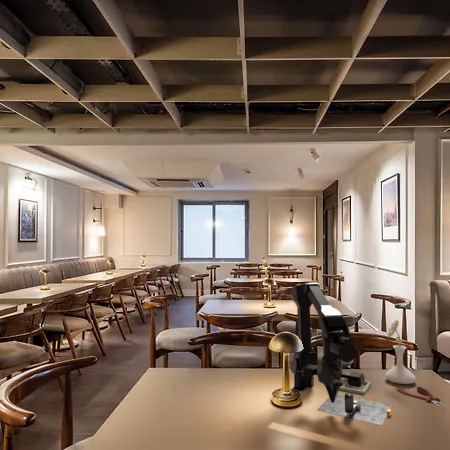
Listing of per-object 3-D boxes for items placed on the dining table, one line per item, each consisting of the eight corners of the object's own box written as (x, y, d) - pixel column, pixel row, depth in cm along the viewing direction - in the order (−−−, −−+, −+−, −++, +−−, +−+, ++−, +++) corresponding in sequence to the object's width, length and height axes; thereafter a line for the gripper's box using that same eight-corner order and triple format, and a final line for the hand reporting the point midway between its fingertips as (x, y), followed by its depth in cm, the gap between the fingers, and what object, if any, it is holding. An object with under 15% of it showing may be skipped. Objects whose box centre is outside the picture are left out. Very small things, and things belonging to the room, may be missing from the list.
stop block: (344, 390, 148) (344, 376, 149) (347, 386, 152) (347, 373, 152) (355, 392, 146) (355, 378, 146) (358, 388, 150) (358, 375, 150)
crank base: (316, 414, 128) (316, 405, 128) (332, 397, 142) (332, 388, 142) (385, 431, 117) (385, 420, 117) (395, 410, 131) (395, 401, 131)
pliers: (437, 418, 126) (437, 410, 126) (394, 395, 146) (394, 388, 146) (465, 414, 129) (465, 406, 129) (420, 392, 149) (419, 385, 149)
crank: (350, 403, 132) (350, 385, 133) (361, 406, 130) (361, 387, 131) (342, 414, 124) (342, 395, 124) (354, 417, 122) (353, 397, 122)
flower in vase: (388, 375, 166) (387, 315, 167) (418, 380, 160) (417, 317, 161) (380, 384, 156) (379, 319, 157) (412, 390, 149) (410, 323, 150)
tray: (331, 392, 147) (330, 385, 147) (340, 382, 157) (340, 376, 157) (364, 399, 141) (364, 391, 141) (371, 388, 151) (371, 381, 151)
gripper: (295, 354, 125) (295, 404, 125) (355, 364, 115) (356, 418, 115) (307, 346, 135) (308, 393, 134) (364, 355, 125) (365, 405, 124)
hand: (332, 402), depth 127 cm, fingers closed
